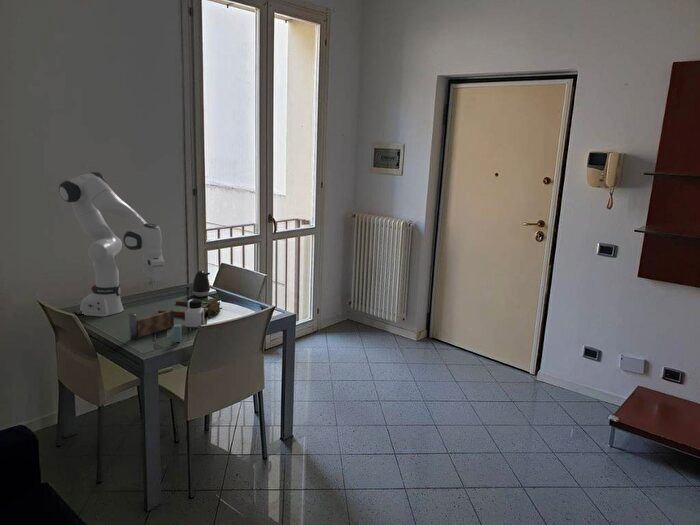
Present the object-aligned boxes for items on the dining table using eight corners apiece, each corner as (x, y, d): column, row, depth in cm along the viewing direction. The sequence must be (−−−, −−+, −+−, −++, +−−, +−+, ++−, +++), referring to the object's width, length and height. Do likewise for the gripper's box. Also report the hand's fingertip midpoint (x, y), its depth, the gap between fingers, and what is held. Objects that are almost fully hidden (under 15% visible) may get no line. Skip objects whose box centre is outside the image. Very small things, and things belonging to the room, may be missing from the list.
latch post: (173, 343, 237) (173, 326, 235) (175, 340, 240) (174, 324, 238) (180, 343, 237) (180, 326, 235) (181, 340, 240) (181, 324, 238)
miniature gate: (180, 296, 295) (229, 298, 289) (180, 305, 296) (230, 307, 290) (153, 310, 269) (207, 312, 263) (154, 320, 270) (207, 323, 264)
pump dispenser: (208, 298, 304) (208, 273, 300) (190, 297, 303) (189, 272, 300) (212, 293, 314) (211, 269, 310) (194, 292, 313) (194, 268, 310)
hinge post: (129, 340, 237) (128, 315, 234) (131, 338, 239) (130, 313, 237) (136, 340, 237) (135, 315, 234) (138, 338, 240) (137, 313, 237)
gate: (138, 337, 239) (137, 321, 237) (136, 336, 240) (135, 320, 238) (173, 326, 256) (173, 310, 254) (171, 325, 257) (171, 310, 255)
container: (204, 322, 265) (204, 298, 262) (200, 327, 258) (200, 302, 255) (189, 321, 265) (188, 297, 262) (184, 326, 257) (184, 301, 254)
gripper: (139, 254, 251) (139, 282, 255) (152, 263, 236) (153, 292, 239) (152, 253, 255) (153, 280, 258) (166, 262, 240) (166, 291, 243)
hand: (153, 286), depth 248 cm, fingers open, 4 cm apart
